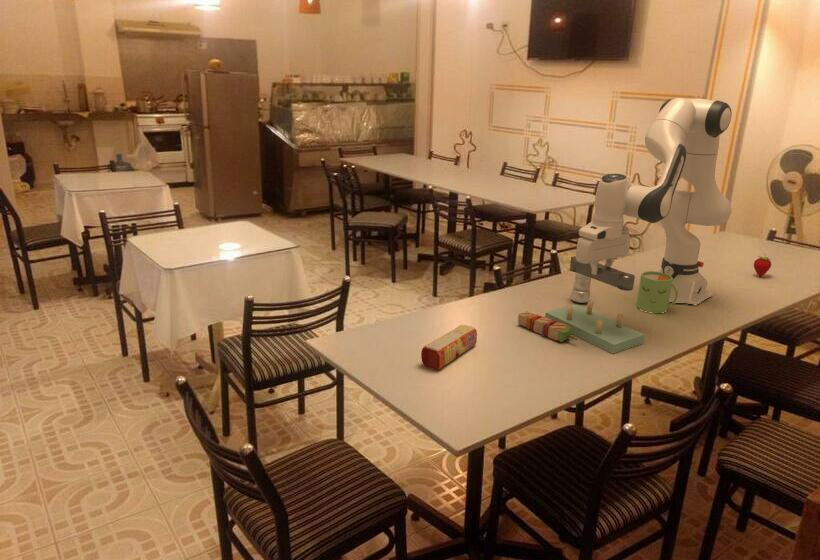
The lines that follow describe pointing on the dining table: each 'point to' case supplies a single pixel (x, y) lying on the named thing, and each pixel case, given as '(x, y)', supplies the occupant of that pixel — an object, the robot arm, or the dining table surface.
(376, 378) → the dining table surface
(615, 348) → the peg rack
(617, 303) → the dining table surface
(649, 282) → the mug
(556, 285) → the dining table surface
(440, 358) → the snack package
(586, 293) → the plastic bottle
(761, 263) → the strawberry
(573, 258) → the long charcoal rail
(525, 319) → the skewer
